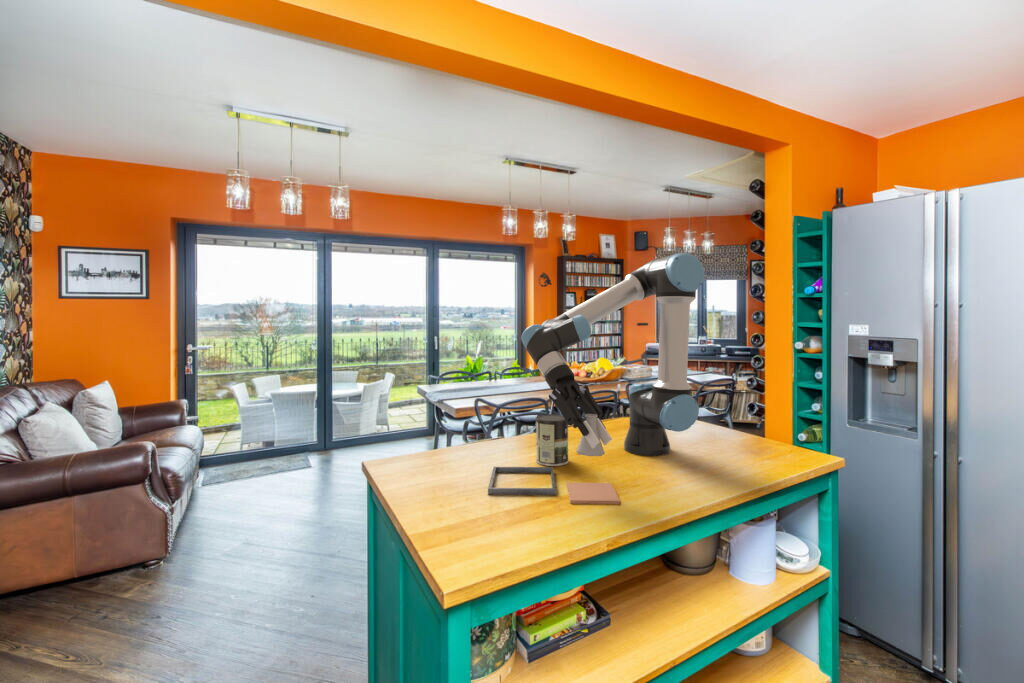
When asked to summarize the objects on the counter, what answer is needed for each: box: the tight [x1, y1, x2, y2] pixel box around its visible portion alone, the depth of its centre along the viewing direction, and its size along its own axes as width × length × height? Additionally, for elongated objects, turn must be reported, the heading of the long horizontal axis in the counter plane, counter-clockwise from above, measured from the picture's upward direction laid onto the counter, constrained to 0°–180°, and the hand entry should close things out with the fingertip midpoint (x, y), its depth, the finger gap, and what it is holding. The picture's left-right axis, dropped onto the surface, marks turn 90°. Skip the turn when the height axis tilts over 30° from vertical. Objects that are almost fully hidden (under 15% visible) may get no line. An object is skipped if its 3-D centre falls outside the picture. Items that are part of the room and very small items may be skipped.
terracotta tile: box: [566, 482, 621, 505], centre depth 117 cm, size 12×12×1 cm
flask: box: [576, 413, 606, 457], centre depth 117 cm, size 7×7×10 cm
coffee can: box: [535, 413, 569, 467], centre depth 144 cm, size 10×10×14 cm
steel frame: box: [487, 466, 557, 496], centre depth 126 cm, size 18×18×2 cm
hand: (602, 443), depth 114 cm, fingers closed on flask, 4 cm apart
